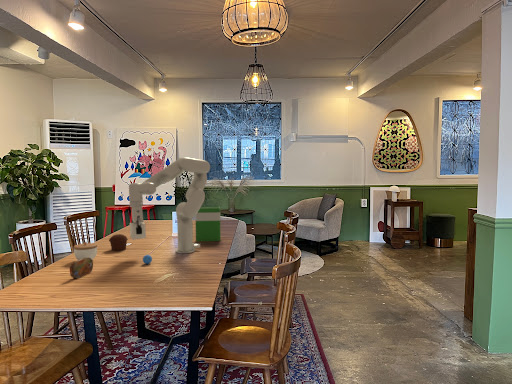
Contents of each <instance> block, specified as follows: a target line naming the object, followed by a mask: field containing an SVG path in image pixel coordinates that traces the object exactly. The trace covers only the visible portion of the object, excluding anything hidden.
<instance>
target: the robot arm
mask: <svg viewBox="0 0 512 384" xmlns="http://www.w3.org/2000/svg"><path fill="white" fill-rule="evenodd" d="M210 170H211V165H210V163H209V162H208V161H207V160H204V159H197V158H191V157H180V158H177V159H176V160H174V161H173V162H172V163H171V164H169V165H167V166H166V167H164V168H163V169H162V170H159V171H158V172H157V173H154V175H151V176H150V177H148V178H147V179H145V180H144V181H143V182H142V183H140V182H133V183H132V182H131V183H129V184H128V197H129V207H130V208H131V218H132V219H131V220H132V223H136V227H137V228H136V234H142V226H141V222H142V223H143V222H144V213H143V207H144V199H143V195H144V196H145V195H147V196H150V195H151V196H152V195H154V194H155V193H156V191H157V188H158V187H160V186H161V185H163V184H167V183H169V182H171V181H173V180H175V179H176V178H177V177H178V176H180V175H181V174H183V173H184V172H189V173H193V180H192V182H191V184H190V186H189V187H188V189H187V190H186V192H185V199H186V202H185V201H183V202H182V201H181V202H180V203H178V205H177V206H176V208H175V209H176V210H175V215H176V221H177V224H176V225H177V230H176V231H177V248H176V249H175V250H174V251H175V253H177V254H190V253H194V252H196V248H200V247H201V244H197V243H194V238H193V236H194V233H193V229H194V228H193V219H194V217H195V216H196V214H197V213H198V211H199V209H200V207H202V205H203V204H204V201H205V198H206V194H205V191H204V189H205V186H206V184H207V182H208V175H207V174H208V173H209V172H210ZM195 218H196V217H195ZM137 224H138V225H137Z"/></svg>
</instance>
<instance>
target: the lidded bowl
mask: <svg viewBox="0 0 512 384" xmlns="http://www.w3.org/2000/svg"><path fill="white" fill-rule="evenodd" d="M97 254H98V244H97V243H94V242H87V241H84V242H83V243H78V244H74V245H73V255H74V257H75V259H76V261H78V260H80V259H83V258H91V259H92V261H94V259H95V258H96V257H97Z"/></svg>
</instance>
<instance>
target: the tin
mask: <svg viewBox="0 0 512 384" xmlns="http://www.w3.org/2000/svg"><path fill="white" fill-rule="evenodd" d="M93 268H94V262H93V260H92V259H91V258H83V259H80V260H75V261H73V262H72V263H71V264H70V266H69V274H70V275H69V276H70V277H71V278H73V279H80V278H83V277H85V276H87V275H89V274H91V272H92V271H93Z"/></svg>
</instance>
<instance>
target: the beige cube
mask: <svg viewBox="0 0 512 384" xmlns="http://www.w3.org/2000/svg"><path fill="white" fill-rule="evenodd" d="M137 225H138V224H137ZM141 226H142V234H136V228H137V227H136V223H134V222H129V234H130V239H131V240H140V239H147V233H146V231H147V230H146V229H147V228H146V223H145V222H144V221H143V223H142V222H141Z"/></svg>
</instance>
